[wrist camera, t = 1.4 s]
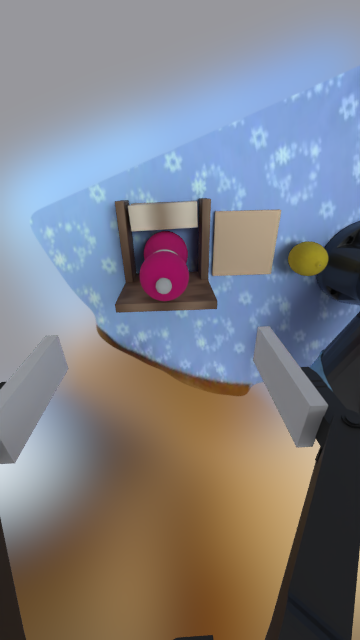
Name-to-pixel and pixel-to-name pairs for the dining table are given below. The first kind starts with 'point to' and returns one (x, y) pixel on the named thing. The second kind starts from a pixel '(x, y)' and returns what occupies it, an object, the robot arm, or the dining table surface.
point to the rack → (198, 285)
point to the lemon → (308, 258)
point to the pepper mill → (164, 266)
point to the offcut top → (163, 216)
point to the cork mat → (244, 242)
